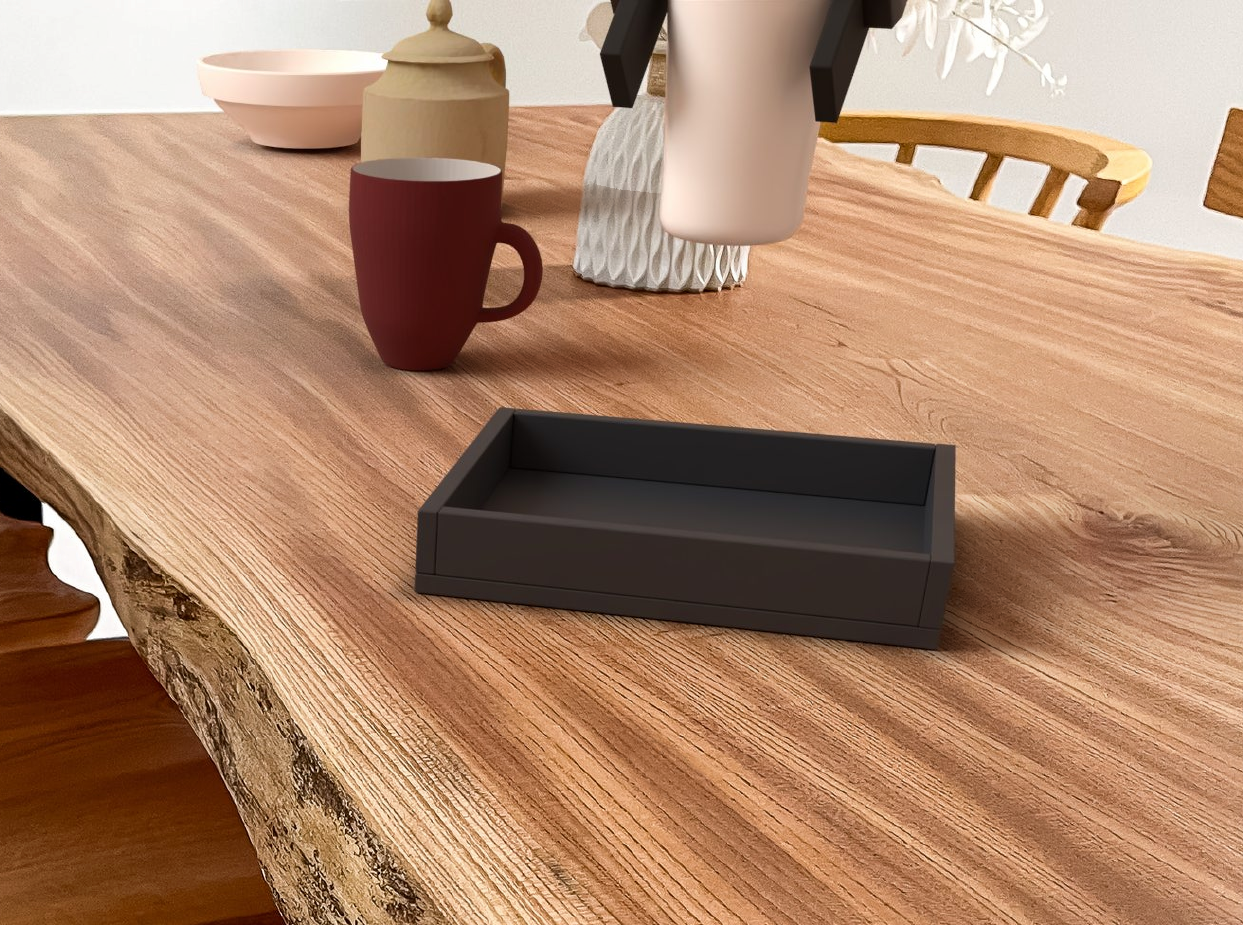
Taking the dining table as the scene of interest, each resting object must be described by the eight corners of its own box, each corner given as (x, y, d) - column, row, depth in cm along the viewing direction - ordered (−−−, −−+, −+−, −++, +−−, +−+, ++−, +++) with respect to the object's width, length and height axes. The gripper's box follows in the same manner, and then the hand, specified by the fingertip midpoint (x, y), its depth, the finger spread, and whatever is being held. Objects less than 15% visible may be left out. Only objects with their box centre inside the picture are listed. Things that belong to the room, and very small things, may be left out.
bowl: (343, 170, 162) (345, 78, 159) (156, 150, 171) (153, 63, 167) (449, 141, 176) (453, 57, 173) (271, 125, 185) (271, 44, 182)
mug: (540, 350, 108) (554, 161, 102) (530, 386, 101) (545, 185, 96) (356, 342, 109) (361, 155, 104) (334, 376, 102) (339, 178, 97)
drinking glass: (785, 260, 68) (853, -237, 60) (609, 241, 71) (652, -235, 63) (844, 230, 73) (913, -233, 65) (677, 213, 76) (724, -231, 68)
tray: (941, 521, 82) (955, 444, 80) (937, 650, 69) (954, 563, 67) (494, 479, 87) (499, 406, 85) (413, 592, 74) (417, 509, 72)
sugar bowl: (365, 187, 155) (370, -20, 147) (500, 189, 154) (514, -19, 146) (356, 220, 142) (361, -5, 134) (504, 223, 141) (518, -3, 134)
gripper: (1181, -358, 69) (1007, 182, 66) (664, -344, 77) (482, 139, 74) (1203, -565, 63) (1010, 24, 59) (634, -526, 71) (432, -4, 67)
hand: (717, 87), depth 66 cm, fingers closed on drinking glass, 7 cm apart
